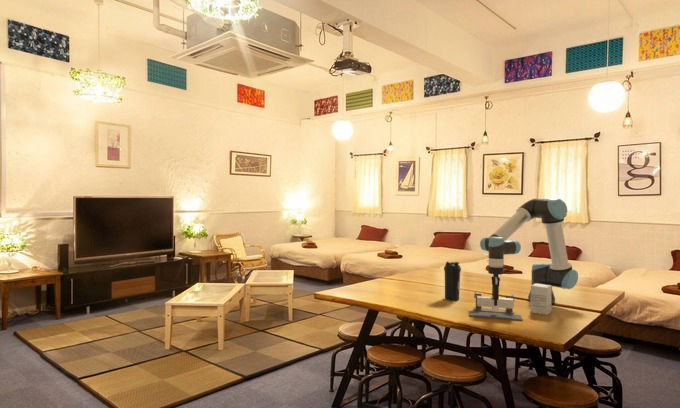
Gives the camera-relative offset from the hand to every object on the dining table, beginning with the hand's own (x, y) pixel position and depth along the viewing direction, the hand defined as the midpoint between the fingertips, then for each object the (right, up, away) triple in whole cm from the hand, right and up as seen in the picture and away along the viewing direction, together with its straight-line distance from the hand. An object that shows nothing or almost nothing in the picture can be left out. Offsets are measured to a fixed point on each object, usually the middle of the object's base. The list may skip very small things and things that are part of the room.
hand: (495, 310), depth 233 cm
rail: (0, +2, 0) cm, 2 cm away
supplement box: (+29, -4, +11) cm, 31 cm away
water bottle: (-13, -3, +40) cm, 42 cm away
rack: (+3, -3, +12) cm, 12 cm away
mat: (0, -3, 0) cm, 3 cm away
